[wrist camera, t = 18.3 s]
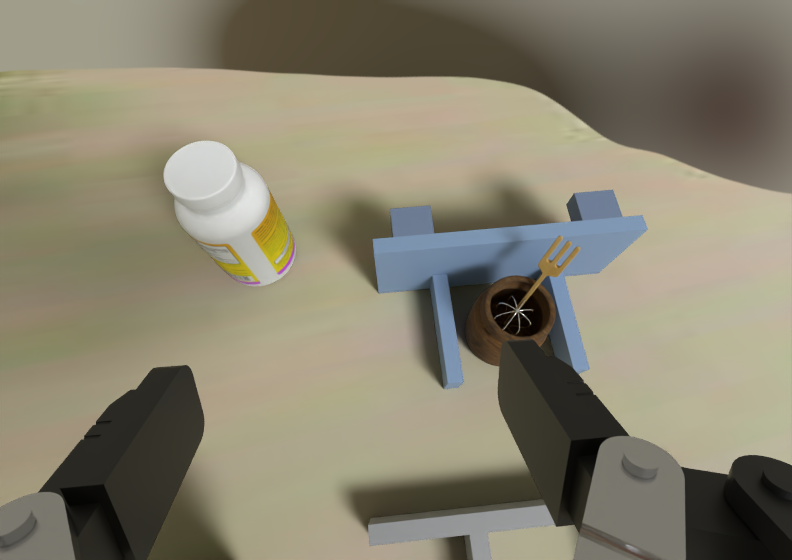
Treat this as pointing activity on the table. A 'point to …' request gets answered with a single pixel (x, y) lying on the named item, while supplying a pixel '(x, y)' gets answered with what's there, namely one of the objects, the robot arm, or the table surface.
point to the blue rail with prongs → (502, 265)
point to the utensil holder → (514, 309)
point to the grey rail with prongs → (460, 525)
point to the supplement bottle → (230, 213)
